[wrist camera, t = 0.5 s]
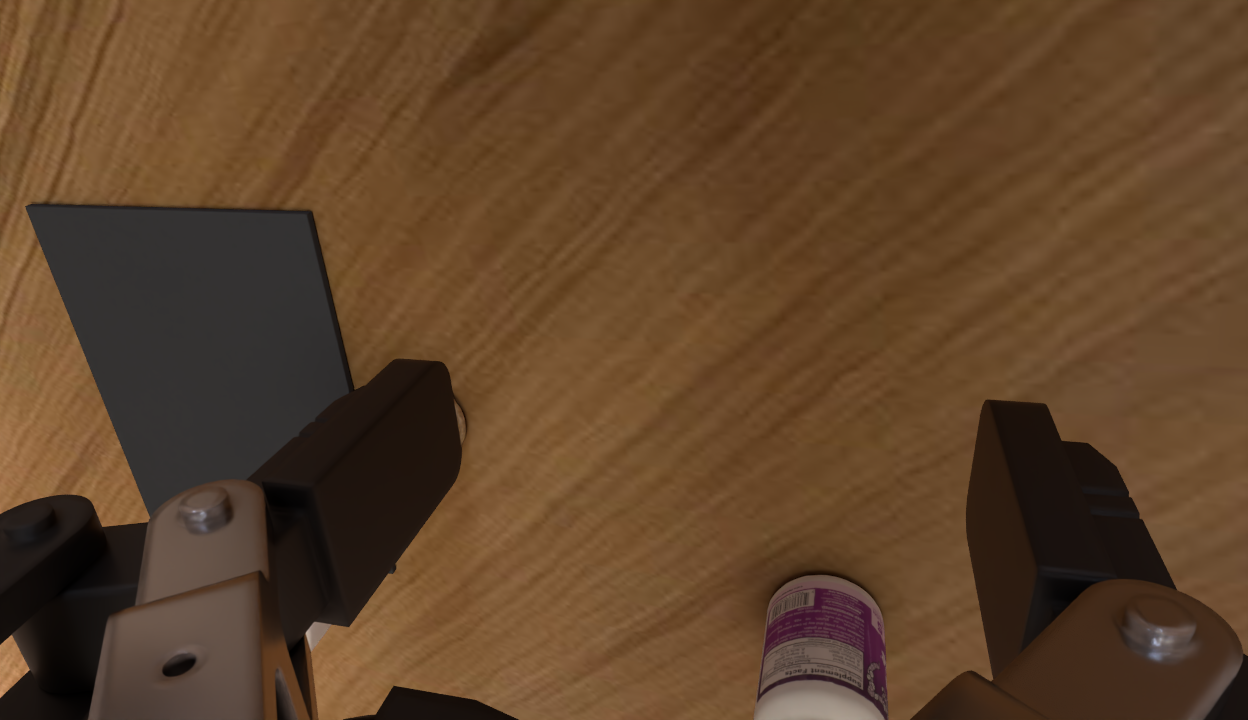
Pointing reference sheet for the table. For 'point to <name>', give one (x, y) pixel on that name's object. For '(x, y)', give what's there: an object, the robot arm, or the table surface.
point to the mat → (198, 332)
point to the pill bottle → (822, 654)
